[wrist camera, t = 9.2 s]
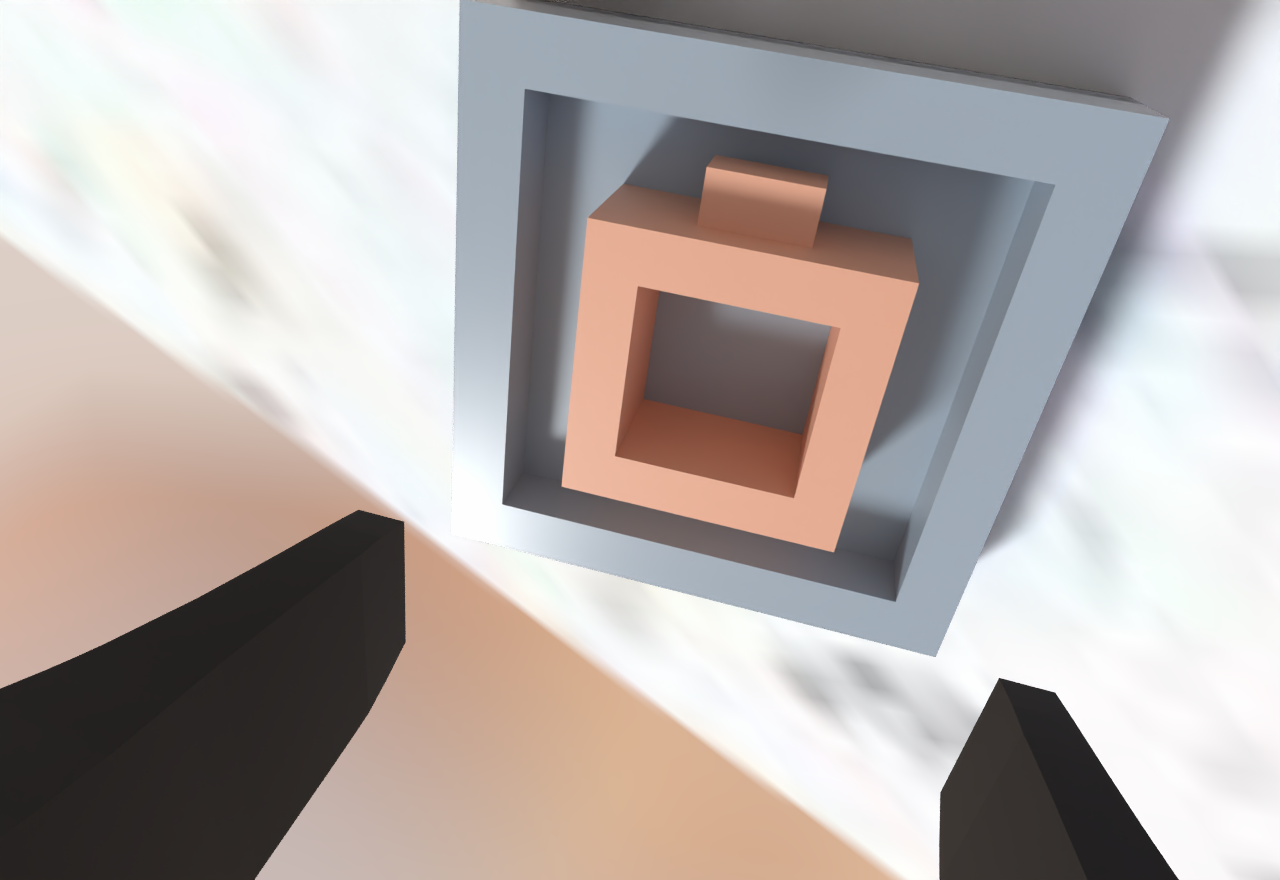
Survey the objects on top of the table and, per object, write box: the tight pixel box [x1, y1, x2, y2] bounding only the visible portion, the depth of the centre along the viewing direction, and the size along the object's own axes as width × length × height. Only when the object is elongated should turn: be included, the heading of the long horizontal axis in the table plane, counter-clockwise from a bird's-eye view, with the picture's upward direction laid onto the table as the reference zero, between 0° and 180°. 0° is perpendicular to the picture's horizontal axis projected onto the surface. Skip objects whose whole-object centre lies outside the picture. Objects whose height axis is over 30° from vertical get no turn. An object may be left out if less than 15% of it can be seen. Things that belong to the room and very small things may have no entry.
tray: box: [451, 0, 1170, 657], centre depth 17 cm, size 11×11×2 cm
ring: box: [561, 155, 919, 552], centre depth 16 cm, size 6×6×2 cm
